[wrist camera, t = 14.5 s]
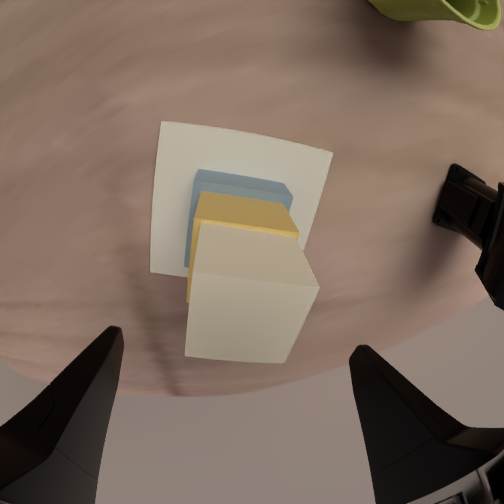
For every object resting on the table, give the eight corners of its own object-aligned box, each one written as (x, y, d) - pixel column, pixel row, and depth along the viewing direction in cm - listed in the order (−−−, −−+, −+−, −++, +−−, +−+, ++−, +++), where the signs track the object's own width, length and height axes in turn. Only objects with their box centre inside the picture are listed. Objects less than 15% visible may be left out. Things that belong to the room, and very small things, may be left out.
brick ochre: (283, 203, 16) (299, 232, 13) (265, 271, 19) (274, 311, 15) (200, 190, 16) (194, 217, 12) (192, 263, 18) (186, 302, 15)
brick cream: (295, 236, 13) (319, 287, 10) (271, 307, 15) (284, 363, 12) (201, 221, 12) (192, 271, 9) (191, 298, 14) (184, 356, 11)
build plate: (329, 151, 19) (333, 152, 18) (288, 283, 24) (290, 289, 24) (164, 120, 16) (161, 121, 16) (152, 266, 22) (150, 272, 22)
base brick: (283, 183, 19) (293, 196, 16) (264, 255, 22) (270, 277, 19) (198, 168, 18) (193, 180, 15) (188, 245, 21) (183, 267, 18)
